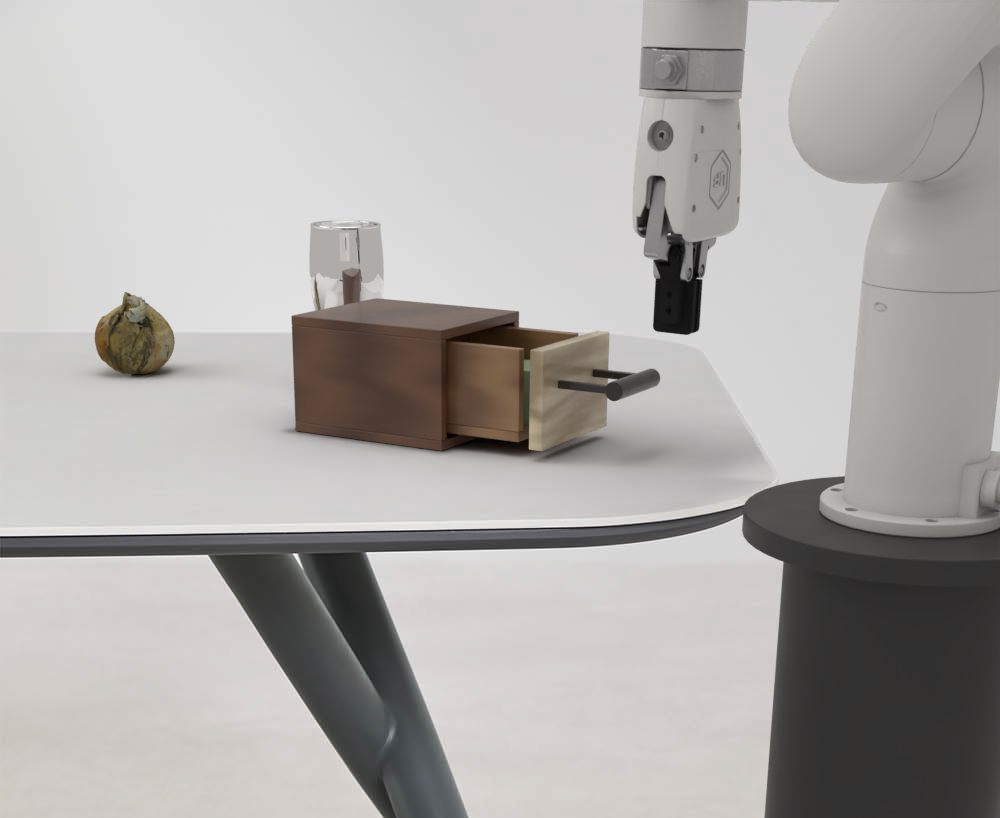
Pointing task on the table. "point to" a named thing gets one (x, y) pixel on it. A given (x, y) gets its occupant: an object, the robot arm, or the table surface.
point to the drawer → (533, 384)
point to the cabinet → (381, 369)
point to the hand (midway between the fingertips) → (675, 331)
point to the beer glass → (345, 262)
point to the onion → (134, 337)
